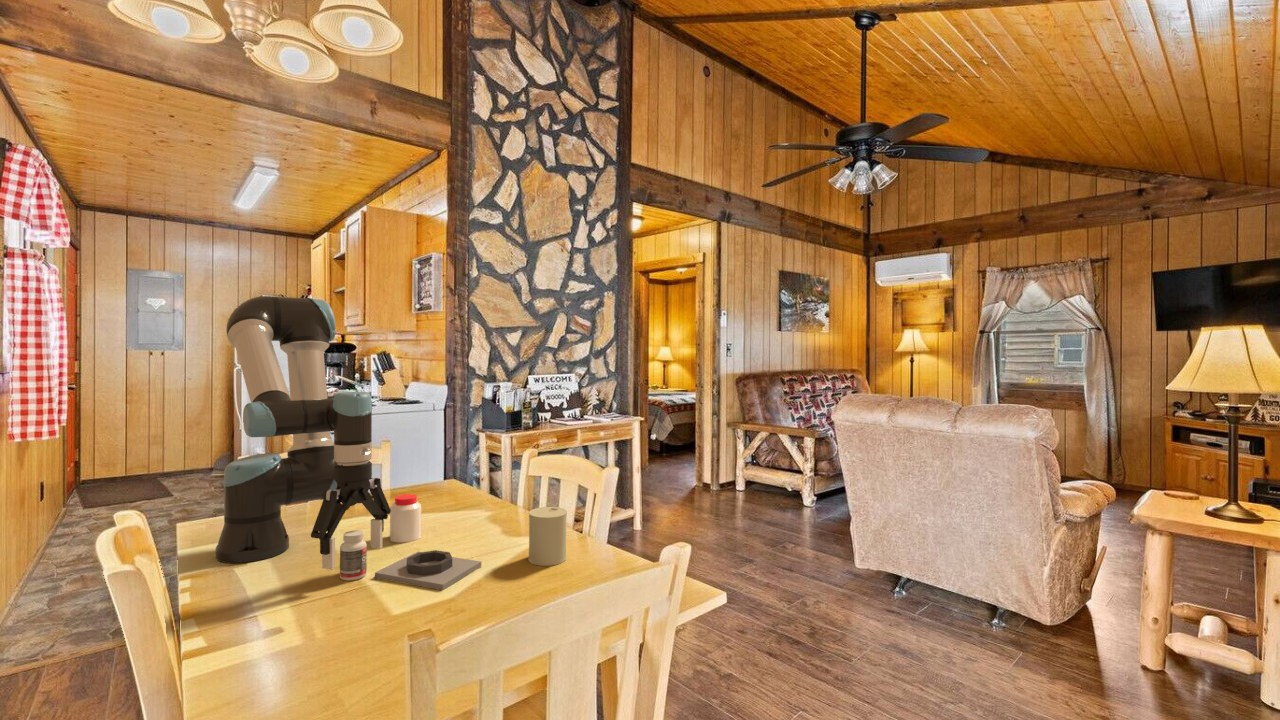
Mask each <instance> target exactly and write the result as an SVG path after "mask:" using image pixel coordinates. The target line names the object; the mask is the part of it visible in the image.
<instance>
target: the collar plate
mask: <svg viewBox="0 0 1280 720" xmlns="http://www.w3.org/2000/svg"><path fill="white" fill-rule="evenodd" d="M481 567H482V561H480V560H474V559H468V558H461V557H457V556H456V557H455V556H452V554H451V552H449V551H443V550H434V549H433V550H428V551H416V552H414V553H411V554H409V555H408V556H405V557H403V558H402V559H399V560H398V561H395V562H393V563H392V564H389V565H387V566H385V567H383V568H382V569H379V570H377V571H375V572H374V579H379V580H385V581H390V582H394V583H395V582H396V583H401V584H406V585H410V586H411V585H412V586H417V587H418V586H419V587H424V588H427V589H435V590H439V591H444V590H446V589H448V588H449V587H451V586H452V585H454V584H455V583H457V582H459V581H460V580H462V579H464V578H465V577H467V576H468V575H470V574H473V572H475V571H477V570H478V569H480V568H481Z"/></svg>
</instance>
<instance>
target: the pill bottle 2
mask: <svg viewBox="0 0 1280 720" xmlns="http://www.w3.org/2000/svg"><path fill="white" fill-rule="evenodd" d="M389 507H390V510H391V512H390V514H389V516H390V518H389V540H390V541H391V542H394V543H400V544H401V543H402V544H403V543H411V542H415V541H418V540H419V539H421V538H422V504H421V502H419V501H418V496H417V495H416V494H413V493H412V494H411V493H406V494H399V495H396V496H394V503H393V504H392V505H391V506H389Z"/></svg>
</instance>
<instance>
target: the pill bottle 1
mask: <svg viewBox="0 0 1280 720" xmlns="http://www.w3.org/2000/svg"><path fill="white" fill-rule="evenodd" d="M364 538H365V537H364V531H363V530H358V529H357V530H351V531H350V530H349V531H346V532H344V533H343V542H342V543H341V544H340V546H339V578H340V579H341V580H342V581H347V582H350V581H351V582H352V581H357V580H360V579H362V578H364V577H365V576H366V575H367V572H368V571H367V569H368V568H367V567H368V565H367V563H368V561H367V560H368V559H367V557H368V556H367V555H368V554H367V552H368V550H367V549H368V545H367V542H366V540H364Z"/></svg>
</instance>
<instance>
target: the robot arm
mask: <svg viewBox="0 0 1280 720" xmlns="http://www.w3.org/2000/svg"><path fill="white" fill-rule="evenodd" d="M336 329H337V325H336V317H335V314H334V310H333V309H332V306H331V305H330V304H329V303H328V302H327V301H326V300H324V299H321V298H320V299H318V298H311V297H289V296H288V297H287V296H285V297H283V296H271V295H268V296H266V295H263V296H262V295H261V296H256V297H252V298H250V299H247V300H245V301H244V302H242V303H240V304H239V305H238V306H237V307H236V308H235V309H234V310H233V311H232V313H231V314H230V316H229V318H228V320H227V324H226V335H227V340H228V343H230V345H231V346H232V347H233V348H235V350H236V354H237V357H238V361H239V365H240V368H241V372H242V375H243V380H244V383H245V387H246V390H247V394H248V397H249V401H250V402H249V403H246V404H245V405H244V407H243V412H242V423H243V430H244V433H245V435H246V436H248V437H250V438H272V437H280V436H281V437H282V436H289V435H292V441H293V442H292V444H291V446H290V447H289V448H288V449H287V457H285V458H282V456H281V455H280V453H278V452H267V453H260V454H259V453H258V454H254V455H250V456H245V457H241V458H238V459H235V460H233V461H232V462H229V463H228V464H227V465H226V466H225V468H224V472H223V473H224V474H223V482H222V486H223V502H224V503H223V504H224V505H223V509H224V511H223V513H224V514H223V517H224V518H223V528H222V530H221V533H220V536H219V538H218V543H217V545H216V546H215V559H216V560H217V559H218V560H220V561H219V562H221V561H223V562H222V563H228V562H229V563H230V564H233V563H234V564H236V563H239V562H240V563H249V562H250V563H251V562H256V561H262V560H266V559H269V558H273V557H275V556H278V555H280V554H282V553H284V552H286V551H287V550H288V549H289V548H290V537H289V534H288V533H287V529H286V527H285V524H284V521H283V519H282V511H281V509H282V506H286V505H294V504H301V503H305V502H311V501H313V502H314V501H318V500H319V501H320V500H322V502H321V505H320V509H319V511H318V513H317V517H316V519H315V522H314V524H313V527H312V530H311V533H310V538H312V539H319V553H320V555H321V560H322V562H321V565H322V566H321V568H322V569H325V570H335V569H336V538H335V537H333V535H334V533H335V532H336V529H337V528H338V526H339V524H340V523H341V520H342V518H343V517H344V514H345V513H346V511H348V510H349V509H350V507H353V506H355V505H357V504H362V506H364V508H366V510H367V511H368V513H369V514H370V515H371V516H372V517H373V518H371V519H370V548H372V549H378V550H380V549H383V533H384V526H385V525H384V524H385V522H384V520H388V517H389V515H390V512H391V510H390V507H391V506H390V505H389V503H388V500H387V497H386V496H385V492H384V490H383V488H382V485H381V479H380V478H379V477H372V476H373V469H372V468H373V462H371V460H372V459H373V457H372V455H373V454H372V450H373V449H372V441H373V440H372V427H373V426H372V425H373V423H372V421H373V420H372V418H373V415H372V414H373V412H372V411H373V405H372V396H371V394H370V393H369V392H367V391H343V392H337V393H336V394H334V396H332V397H331V396H330V397H328V390H327V380H326V379H327V376H326V366H325V356H324V355H325V351H327V349H328V348H329V347H330V342H332V341H333V340H335V338H336V333H337V332H336ZM273 342H278V343H279V349H280V350H281V351H282V352H284V353H285V354H286V356H287V357H286V358H287V369H288V383H289V384H288V385H289V389H288V387H287V384H286V381H285V378H284V374H283V373H282V369H281V365H280V363H279V360H278V357H277V354H276V351H275V347H274V344H273ZM331 432H333V440H332V439H331ZM218 560H217V561H218Z"/></svg>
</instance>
